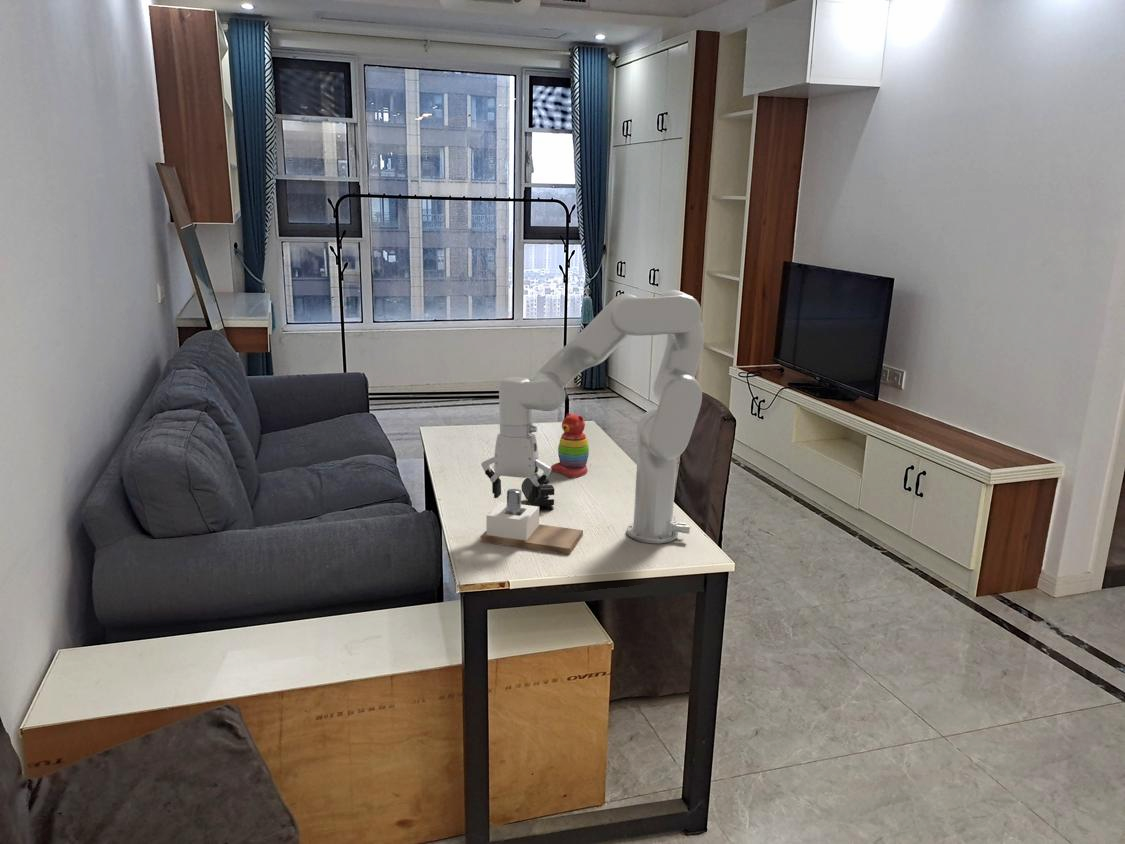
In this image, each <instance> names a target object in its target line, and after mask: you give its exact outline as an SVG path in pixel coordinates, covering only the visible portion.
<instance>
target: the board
mask: <svg viewBox="0 0 1125 844" xmlns="http://www.w3.org/2000/svg"><path fill="white" fill-rule="evenodd" d="M583 536H584V530H583V529H577V528H570V527H569V528H568V527H562V526H554V525H547V524H546V525H545V524H540V523H539V526H538V527H537V529H536V530H535V531H534V532H533V533H532V534H531V536H530V537H529V538H528V539H527V540H526V541H525V540H518V539H511V538H504V537H497V536H490V535H486V530H485V531H484V532H483V533H482V534H481V535H480V542H481V543H485V544H486V543H487V544H493V545H501V546H508V547H514V548H521V549H529V550H536V551H541V550H543V551H542V552H548V551H549V553H555V552H556V553H557V554H562V553H563V554H564V555H569V554H570V555H571V554H572V552H573V551H574V549H575V548H576V546H577V545H578V544H579V542H580V540H581V539H582V537H583ZM563 554H562V555H563Z"/></svg>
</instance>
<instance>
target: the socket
mask: <svg viewBox="0 0 1125 844" xmlns="http://www.w3.org/2000/svg"><path fill="white" fill-rule="evenodd" d="M539 524H540V511H539V507H537V506H530V504H529V505H528V504H523V503H521V516H517V515H509V514H507V501H500V502H499V503H498V504H497V505H496V506H495V507H493V509H491V511H490V512H488V513H487V514H486V530H485V531H486V535H490V536H497V537H504V538H511V539H518V540H525V541H526V540H527V539H528V538H529V537H530V536H531V534H532V533H533V532H534V531H535V530H536V529H537V527H538V526H539Z"/></svg>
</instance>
